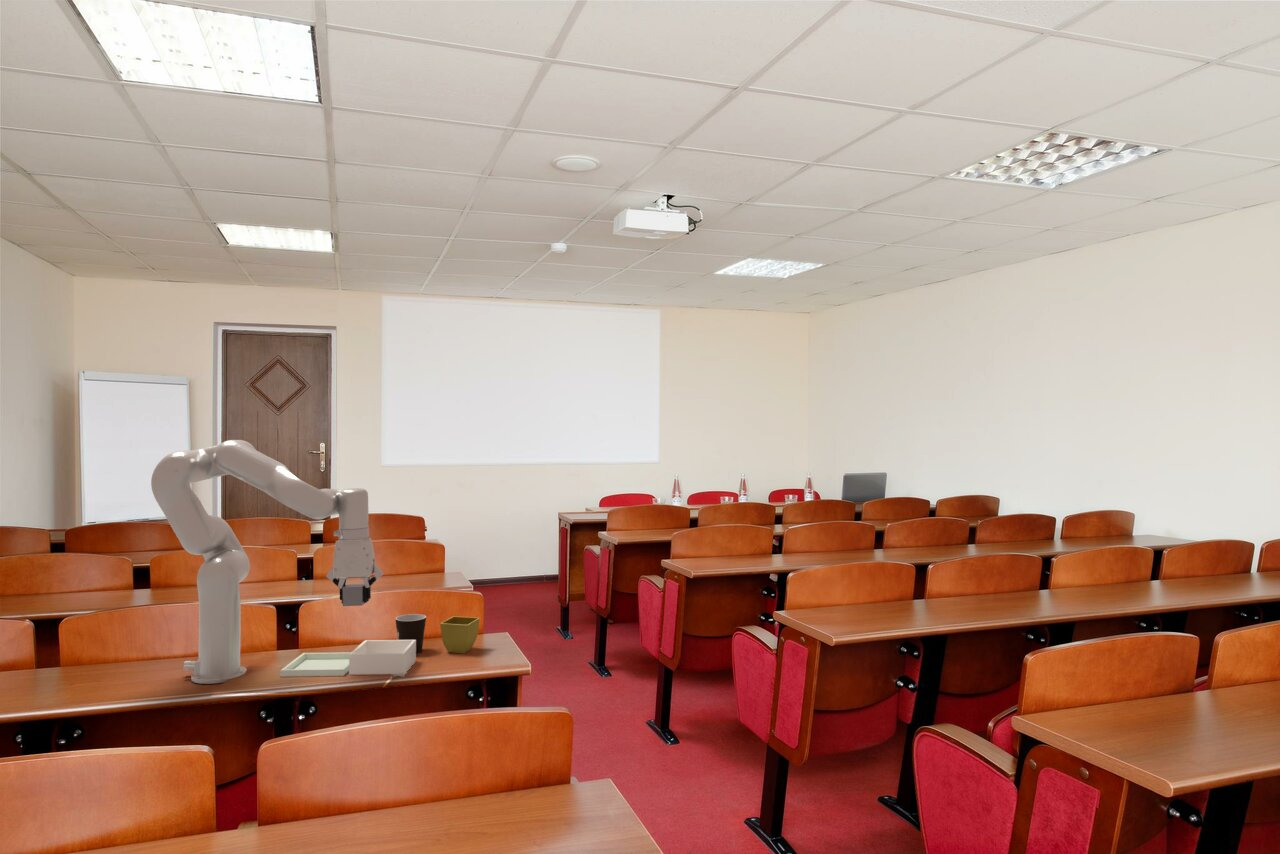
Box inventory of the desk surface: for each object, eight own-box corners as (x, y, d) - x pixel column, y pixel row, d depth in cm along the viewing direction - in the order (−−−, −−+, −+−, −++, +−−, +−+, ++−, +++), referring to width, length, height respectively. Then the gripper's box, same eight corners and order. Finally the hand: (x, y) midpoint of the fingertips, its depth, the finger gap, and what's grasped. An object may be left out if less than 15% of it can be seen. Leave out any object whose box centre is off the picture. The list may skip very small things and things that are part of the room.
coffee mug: (420, 656, 220) (421, 621, 220) (390, 656, 220) (391, 620, 220) (432, 645, 231) (432, 612, 232) (403, 645, 231) (404, 611, 232)
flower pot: (467, 656, 220) (467, 624, 220) (439, 654, 222) (439, 622, 222) (479, 647, 229) (480, 617, 229) (452, 646, 231) (452, 616, 231)
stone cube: (342, 606, 205) (342, 587, 205) (348, 602, 210) (348, 583, 210) (362, 605, 205) (361, 586, 205) (367, 601, 210) (367, 583, 210)
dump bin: (348, 677, 200) (349, 654, 200) (364, 661, 214) (364, 640, 214) (403, 676, 201) (404, 653, 201) (415, 661, 215) (416, 639, 215)
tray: (280, 679, 198) (280, 670, 198) (303, 661, 214) (303, 652, 214) (343, 678, 199) (343, 669, 199) (361, 660, 215) (362, 652, 215)
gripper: (316, 537, 203) (318, 606, 203) (382, 535, 204) (384, 604, 204) (326, 533, 211) (327, 600, 210) (389, 531, 212) (391, 598, 212)
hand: (355, 601), depth 207 cm, fingers closed on stone cube, 5 cm apart
